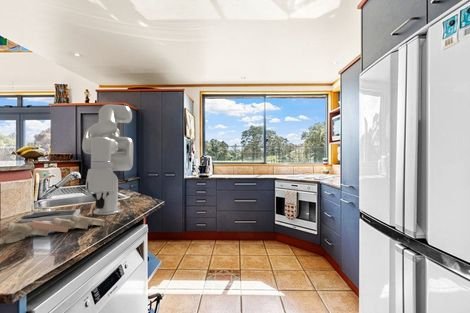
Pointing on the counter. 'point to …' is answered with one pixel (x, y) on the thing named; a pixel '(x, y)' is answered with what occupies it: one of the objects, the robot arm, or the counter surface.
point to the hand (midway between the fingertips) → (100, 208)
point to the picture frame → (50, 215)
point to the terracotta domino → (48, 226)
